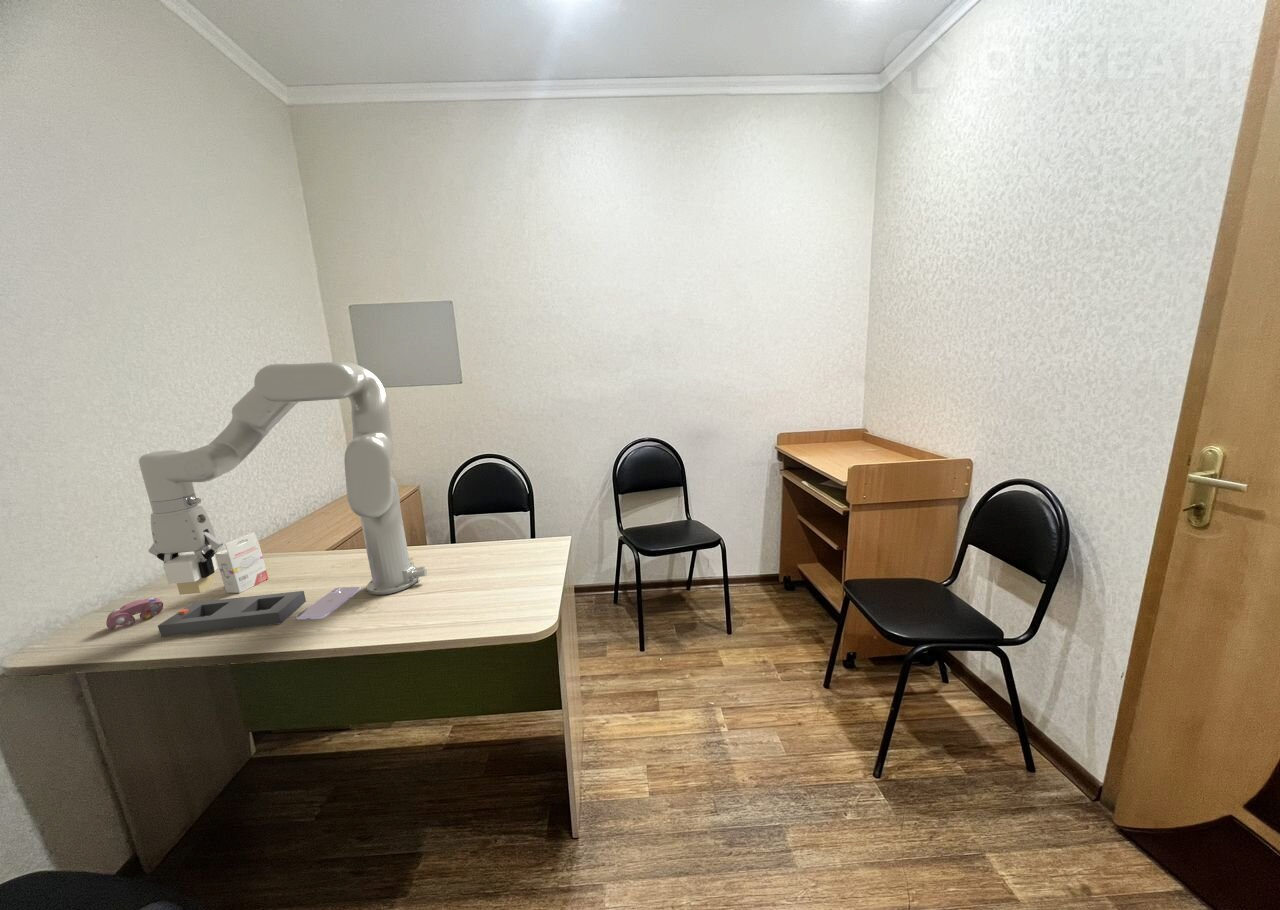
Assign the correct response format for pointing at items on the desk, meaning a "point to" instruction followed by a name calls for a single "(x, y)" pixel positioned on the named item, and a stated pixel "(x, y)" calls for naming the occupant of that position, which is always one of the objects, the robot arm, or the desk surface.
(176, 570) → the plug
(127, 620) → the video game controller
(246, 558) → the ink cartridge box
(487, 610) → the desk surface
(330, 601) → the mobile phone
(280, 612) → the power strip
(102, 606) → the desk surface
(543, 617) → the desk surface
